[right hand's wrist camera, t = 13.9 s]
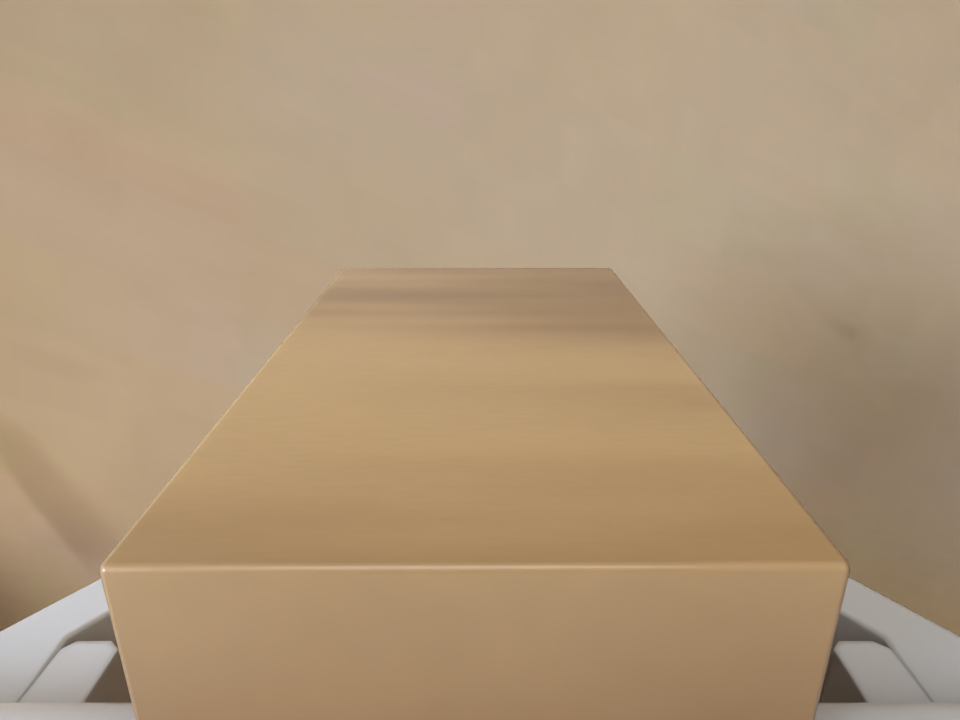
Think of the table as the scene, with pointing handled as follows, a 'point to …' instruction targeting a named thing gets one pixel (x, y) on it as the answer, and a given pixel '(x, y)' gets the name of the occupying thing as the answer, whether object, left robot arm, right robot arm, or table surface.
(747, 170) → the table surface
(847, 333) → the table surface
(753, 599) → the bar
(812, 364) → the table surface
